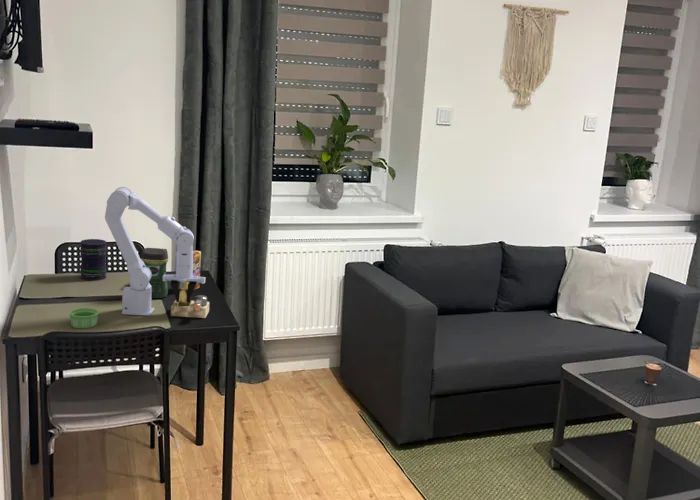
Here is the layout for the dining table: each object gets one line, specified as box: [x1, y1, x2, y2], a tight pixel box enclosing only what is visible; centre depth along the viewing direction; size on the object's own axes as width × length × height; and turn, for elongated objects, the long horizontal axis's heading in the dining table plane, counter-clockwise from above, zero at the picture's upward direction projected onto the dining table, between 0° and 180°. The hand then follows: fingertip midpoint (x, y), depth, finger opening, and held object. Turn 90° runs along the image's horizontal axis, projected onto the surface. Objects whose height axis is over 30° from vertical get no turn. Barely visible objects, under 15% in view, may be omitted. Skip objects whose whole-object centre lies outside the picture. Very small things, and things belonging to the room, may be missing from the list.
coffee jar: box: [140, 247, 169, 299], centre depth 257 cm, size 10×8×19 cm
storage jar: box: [79, 238, 107, 282], centre depth 275 cm, size 10×10×15 cm
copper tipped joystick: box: [193, 294, 208, 312], centre depth 238 cm, size 4×11×3 cm, turn 2°
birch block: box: [170, 299, 210, 319], centre depth 242 cm, size 12×8×4 cm, turn 92°
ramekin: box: [69, 307, 100, 329], centre depth 223 cm, size 9×9×4 cm
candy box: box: [180, 249, 202, 291], centre depth 269 cm, size 9×4×15 cm, turn 157°
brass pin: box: [178, 288, 188, 306], centre depth 241 cm, size 3×3×7 cm
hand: (183, 301), depth 242 cm, fingers closed on brass pin, 3 cm apart
